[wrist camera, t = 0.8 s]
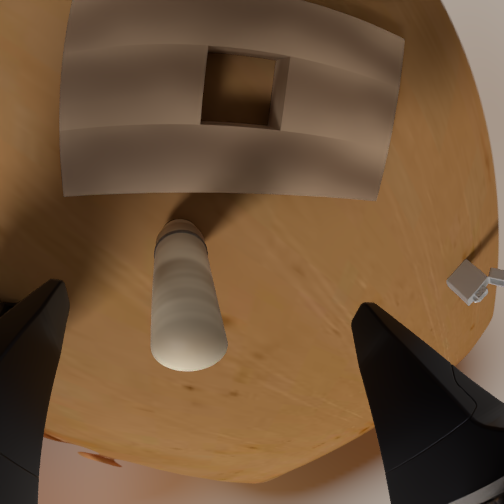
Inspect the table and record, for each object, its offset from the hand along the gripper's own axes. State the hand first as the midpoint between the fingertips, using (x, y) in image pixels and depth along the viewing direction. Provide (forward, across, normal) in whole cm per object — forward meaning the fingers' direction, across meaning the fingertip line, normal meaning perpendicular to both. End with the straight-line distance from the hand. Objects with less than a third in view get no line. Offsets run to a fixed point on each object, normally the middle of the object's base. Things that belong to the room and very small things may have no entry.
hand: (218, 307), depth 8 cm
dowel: (+12, +2, +5) cm, 13 cm away
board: (+13, -1, -5) cm, 14 cm away
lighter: (+15, -32, +7) cm, 36 cm away
